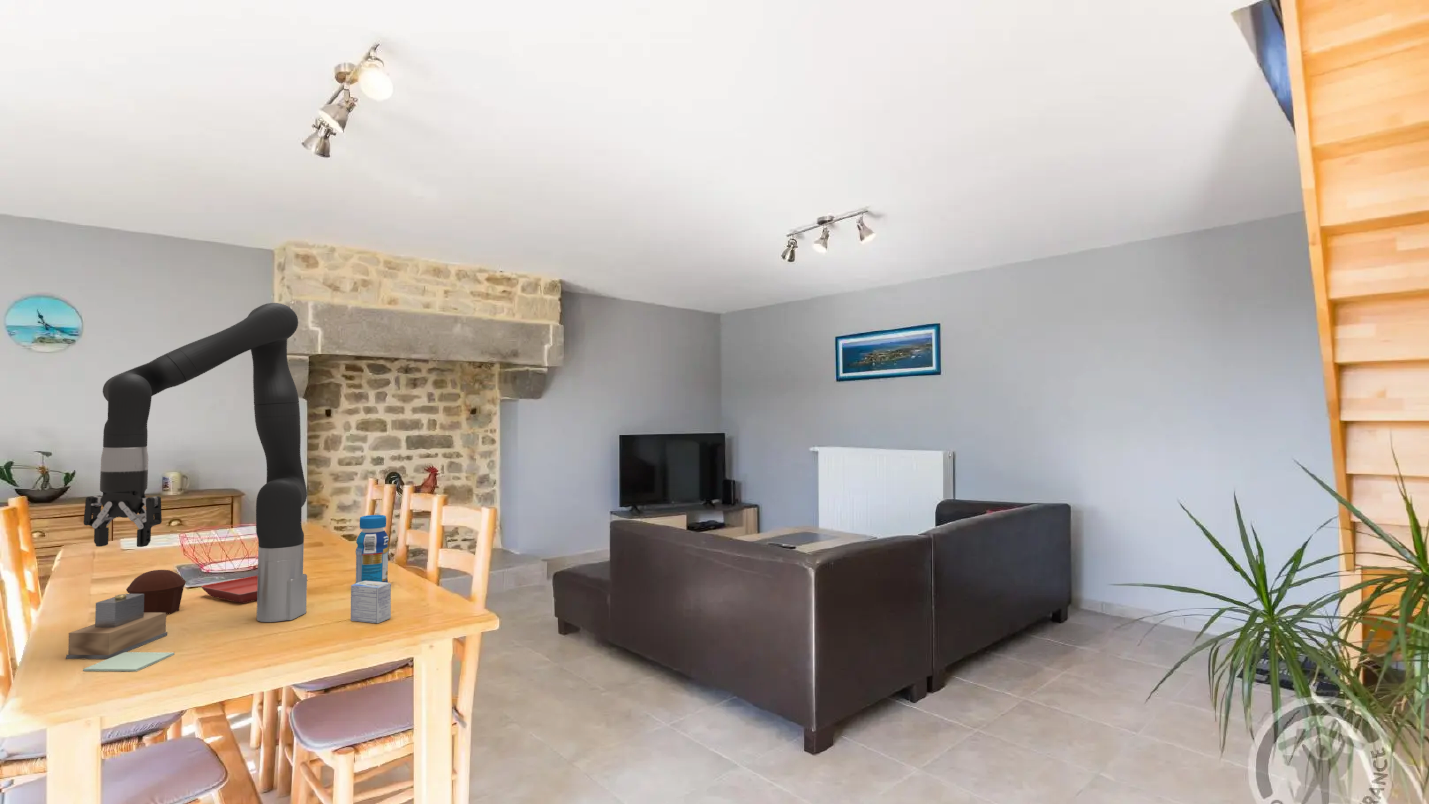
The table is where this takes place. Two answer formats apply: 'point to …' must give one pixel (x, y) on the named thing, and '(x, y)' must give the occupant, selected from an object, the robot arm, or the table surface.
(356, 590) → the medicine box
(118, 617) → the block with brass knob
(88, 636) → the body
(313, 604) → the table surface
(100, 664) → the mat
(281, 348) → the robot arm
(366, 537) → the beverage bottle
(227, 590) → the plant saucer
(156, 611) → the muffin
